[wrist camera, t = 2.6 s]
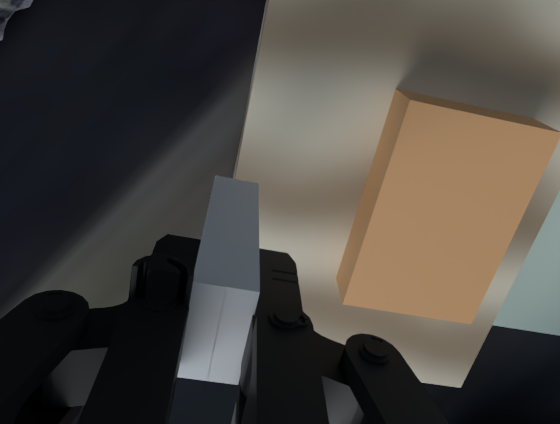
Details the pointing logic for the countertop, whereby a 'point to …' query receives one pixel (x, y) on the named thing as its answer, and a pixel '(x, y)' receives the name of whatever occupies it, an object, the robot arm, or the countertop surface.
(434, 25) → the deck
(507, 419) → the countertop surface
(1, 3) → the mineral rock
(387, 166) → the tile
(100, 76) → the countertop surface
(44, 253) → the countertop surface
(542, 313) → the mat
